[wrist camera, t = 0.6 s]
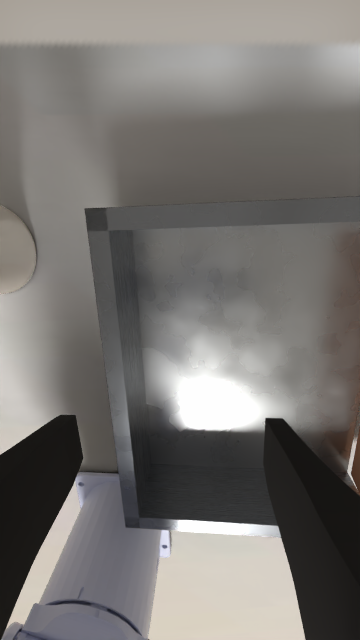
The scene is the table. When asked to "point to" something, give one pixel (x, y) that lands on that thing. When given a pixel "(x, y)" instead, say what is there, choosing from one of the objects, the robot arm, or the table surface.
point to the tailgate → (356, 465)
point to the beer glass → (15, 252)
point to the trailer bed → (225, 350)
